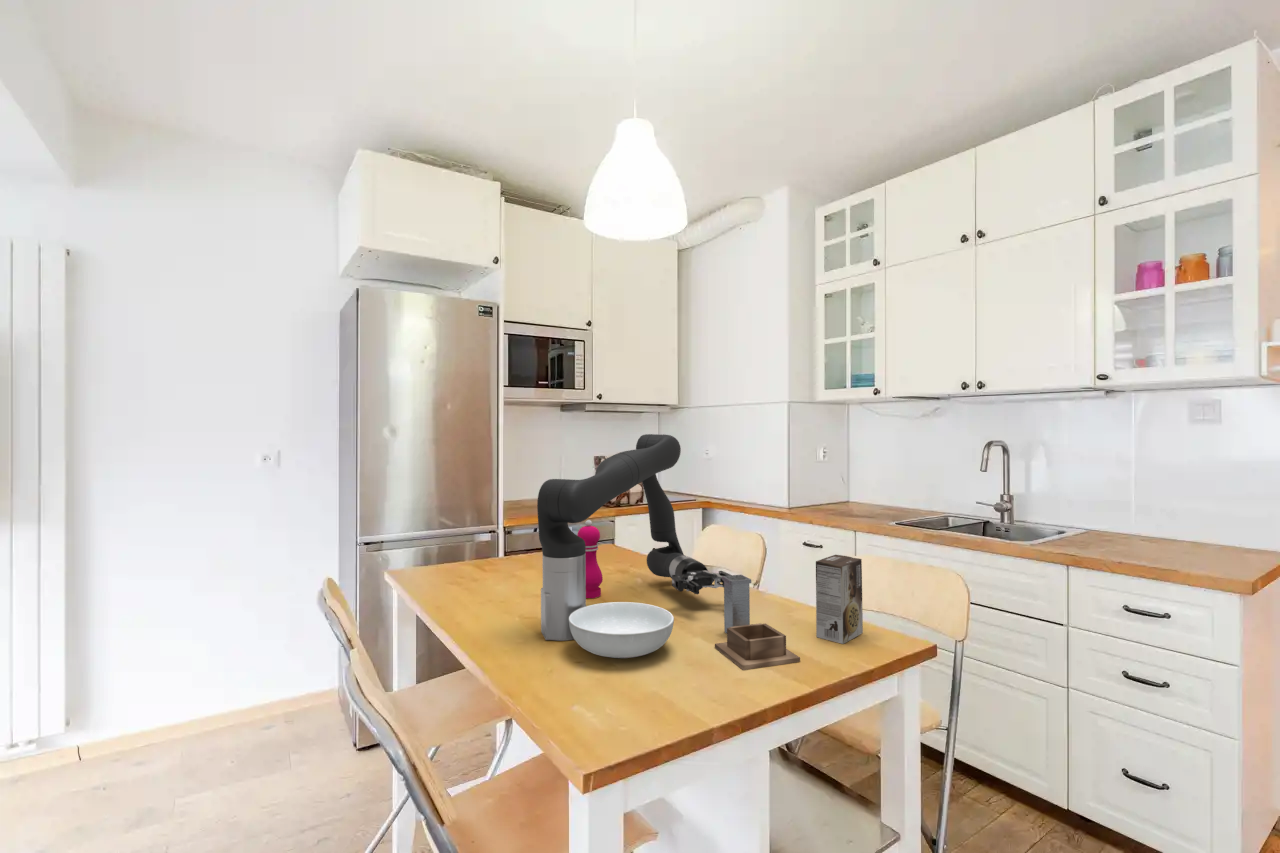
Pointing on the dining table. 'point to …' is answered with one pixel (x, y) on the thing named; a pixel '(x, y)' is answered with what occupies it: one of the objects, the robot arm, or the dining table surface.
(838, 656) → the dining table surface
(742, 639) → the box
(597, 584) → the pepper mill
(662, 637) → the serving bowl
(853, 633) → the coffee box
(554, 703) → the dining table surface
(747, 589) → the grey square peg
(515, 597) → the dining table surface
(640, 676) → the dining table surface
